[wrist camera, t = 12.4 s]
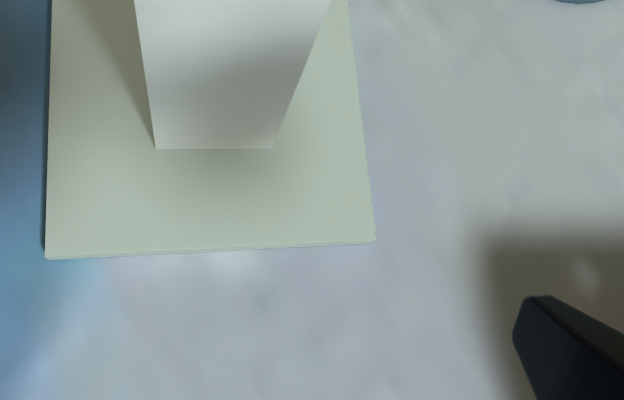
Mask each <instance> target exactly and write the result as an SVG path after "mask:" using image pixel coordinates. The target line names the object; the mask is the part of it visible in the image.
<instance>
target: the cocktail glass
mask: <svg viewBox="0 0 624 400" xmlns="http://www.w3.org/2000/svg"><path fill="white" fill-rule="evenodd" d="M557 1H560V2H566V3H576V4H583V3H595V2H599V1H603V0H557Z"/></svg>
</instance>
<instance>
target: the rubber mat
mask: <svg viewBox="0 0 624 400" xmlns="http://www.w3.org/2000/svg"><path fill="white" fill-rule="evenodd" d="M375 241H376V233H375V225H374V216H373V208H372V200H371V191H370V183H369V175H368V167H367V158H366V150H365V142H364V133H363V125H362V117H361V109H360V100H359V92H358V84H357V75H356V67H355V59H354V51H353V42H352V34H351V26H350V17H349V9H348V1H347V0H331V2H330V4H329V7H328V9H327V12H326V14H325V17H324V19H323V22H322V24H321V27H320V29H319V32H318V35H317V37H316V40H315V42H314V45H313V47H312V50H311V52H310V55H309V57H308V60H307V62H306V65H305V67H304V70H303V72H302V75H301V77H300V80H299V82H298V85H297V87H296V90H295V92H294V95H293V97H292V100H291V102H290V105H289V107H288V110H287V112H286V115H285V117H284V120H283V122H282V125H281V127H280V130H279V132H278V135H277V137H276V140H275V142H274V145H273V147H272V148H260V149H156V147H155V140H154V133H153V126H152V119H151V113H150V106H149V99H148V92H147V85H146V79H145V72H144V65H143V58H142V51H141V45H140V38H139V31H138V24H137V17H136V11H135V4H134V0H52V25H51V60H50V94H49V129H48V163H47V198H46V232H45V258H47V259H48V260H60V259H80V258H99V257H118V256H137V255H157V254H176V253H195V252H214V251H234V250H253V249H272V248H291V247H311V246H330V245H349V244H368V243H373V242H375Z"/></svg>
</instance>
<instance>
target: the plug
mask: <svg viewBox="0 0 624 400" xmlns="http://www.w3.org/2000/svg"><path fill="white" fill-rule="evenodd" d="M330 2H331V0H134V4H135V11H136V17H137V24H138V31H139V38H140V45H141V51H142V58H143V65H144V72H145V79H146V85H147V92H148V99H149V106H150V113H151V119H152V126H153V133H154V140H155V147H156V149H260V148H272V147H273V145H274V142H275V140H276V137H277V135H278V132H279V130H280V127H281V125H282V122H283V120H284V117H285V115H286V112H287V110H288V107H289V105H290V102H291V100H292V97H293V95H294V92H295V90H296V87H297V85H298V82H299V80H300V77H301V75H302V72H303V70H304V67H305V65H306V62H307V60H308V57H309V55H310V52H311V50H312V47H313V45H314V42H315V40H316V37H317V35H318V32H319V29H320V27H321V24H322V22H323V19H324V17H325V14H326V12H327V9H328V7H329V4H330Z"/></svg>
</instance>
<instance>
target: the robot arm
mask: <svg viewBox="0 0 624 400" xmlns="http://www.w3.org/2000/svg"><path fill="white" fill-rule="evenodd" d="M512 340H513V344H514V347H515V349H516V352H517V354H518V356H519V359H520V361H521V363H522V366H523V368H524V370H525V373H526V375H527V377H528V380H529V382H530V384H531V387H532V389H533V391H534V394H535V396H536V398H537V400H624V334H623V333H621V332H619V331H617V330H615V329H613V328H611V327H609V326H608V325H606V324H604V323H602V322H600V321H598V320H596V319H594V318H592V317H591V316H589V315H587V314H585V313H583V312H581V311H579V310H577V309H575V308H574V307H572V306H570V305H568V304H566V303H564V302H562V301H560V300H558V299H557V298H555V297H553V296H551V295H545V294H544V295H532V296H527V297H526V298H525V299H524V300H523V301H522V304H521V307H520V310H519V313H518V316H517V319H516V322H515V325H514V328H513V332H512Z"/></svg>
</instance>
